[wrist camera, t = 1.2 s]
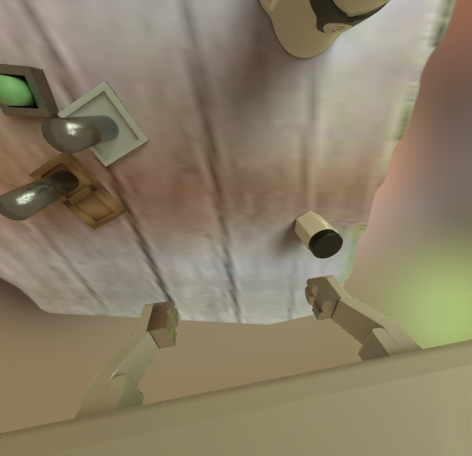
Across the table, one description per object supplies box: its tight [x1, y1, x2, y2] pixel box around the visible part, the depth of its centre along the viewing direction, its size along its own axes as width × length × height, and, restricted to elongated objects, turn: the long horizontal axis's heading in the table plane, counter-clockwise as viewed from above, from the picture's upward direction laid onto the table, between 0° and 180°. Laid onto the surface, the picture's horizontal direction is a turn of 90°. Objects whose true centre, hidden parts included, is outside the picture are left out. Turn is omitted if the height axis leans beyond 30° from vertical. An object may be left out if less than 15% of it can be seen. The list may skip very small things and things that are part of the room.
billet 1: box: [0, 170, 79, 221], centre depth 35 cm, size 4×4×14 cm
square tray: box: [58, 81, 148, 167], centre depth 37 cm, size 11×11×2 cm
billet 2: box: [42, 115, 119, 153], centre depth 32 cm, size 4×4×14 cm
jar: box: [294, 211, 343, 258], centre depth 53 cm, size 9×8×12 cm
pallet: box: [29, 153, 126, 229], centre depth 43 cm, size 16×9×2 cm, turn 27°
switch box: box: [0, 64, 60, 117], centre depth 32 cm, size 7×7×3 cm
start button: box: [0, 75, 36, 106], centre depth 31 cm, size 4×4×4 cm
